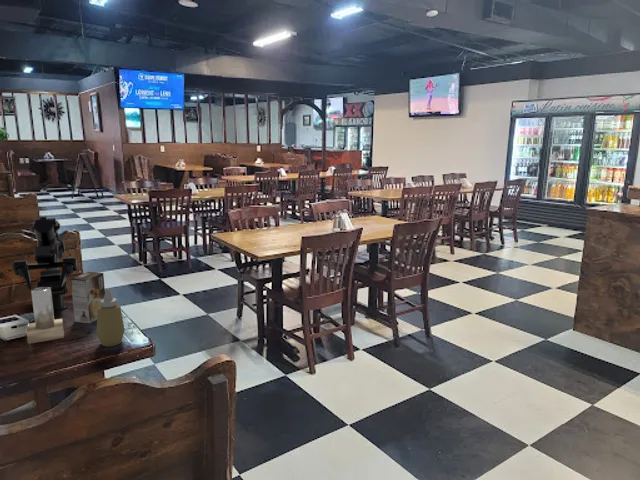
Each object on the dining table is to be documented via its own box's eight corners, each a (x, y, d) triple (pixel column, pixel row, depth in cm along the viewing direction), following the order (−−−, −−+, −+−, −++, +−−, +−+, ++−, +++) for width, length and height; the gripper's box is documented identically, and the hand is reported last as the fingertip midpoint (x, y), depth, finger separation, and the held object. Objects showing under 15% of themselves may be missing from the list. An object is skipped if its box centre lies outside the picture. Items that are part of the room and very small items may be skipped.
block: (28, 332, 152) (27, 323, 152) (62, 326, 157) (62, 318, 157) (27, 343, 144) (26, 334, 143) (64, 337, 149) (63, 328, 148)
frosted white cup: (45, 321, 153) (41, 286, 150) (58, 324, 152) (54, 288, 149) (31, 328, 148) (27, 291, 145) (44, 330, 147) (40, 293, 144)
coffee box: (92, 312, 170) (88, 270, 167) (107, 314, 169) (104, 272, 165) (74, 321, 161) (70, 278, 158) (90, 324, 160) (86, 279, 157)
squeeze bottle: (98, 350, 141) (93, 294, 137) (97, 340, 148) (92, 286, 144) (126, 345, 144) (122, 291, 140) (124, 336, 151) (120, 283, 147)
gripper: (10, 237, 152) (7, 279, 145) (73, 234, 160) (74, 273, 152) (17, 255, 161) (14, 295, 153) (77, 251, 168) (77, 289, 161)
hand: (45, 287), depth 155 cm, fingers open, 9 cm apart
